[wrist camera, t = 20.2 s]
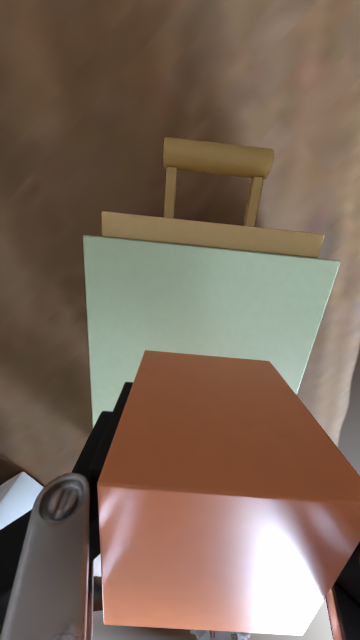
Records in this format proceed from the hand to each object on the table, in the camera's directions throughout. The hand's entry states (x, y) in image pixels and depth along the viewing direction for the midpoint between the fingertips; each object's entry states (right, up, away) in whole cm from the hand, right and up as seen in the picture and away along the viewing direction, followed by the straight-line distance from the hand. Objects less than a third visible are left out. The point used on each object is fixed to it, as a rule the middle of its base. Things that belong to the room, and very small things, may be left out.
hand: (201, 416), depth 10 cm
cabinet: (0, +4, +11) cm, 12 cm away
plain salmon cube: (0, 0, +1) cm, 1 cm away
